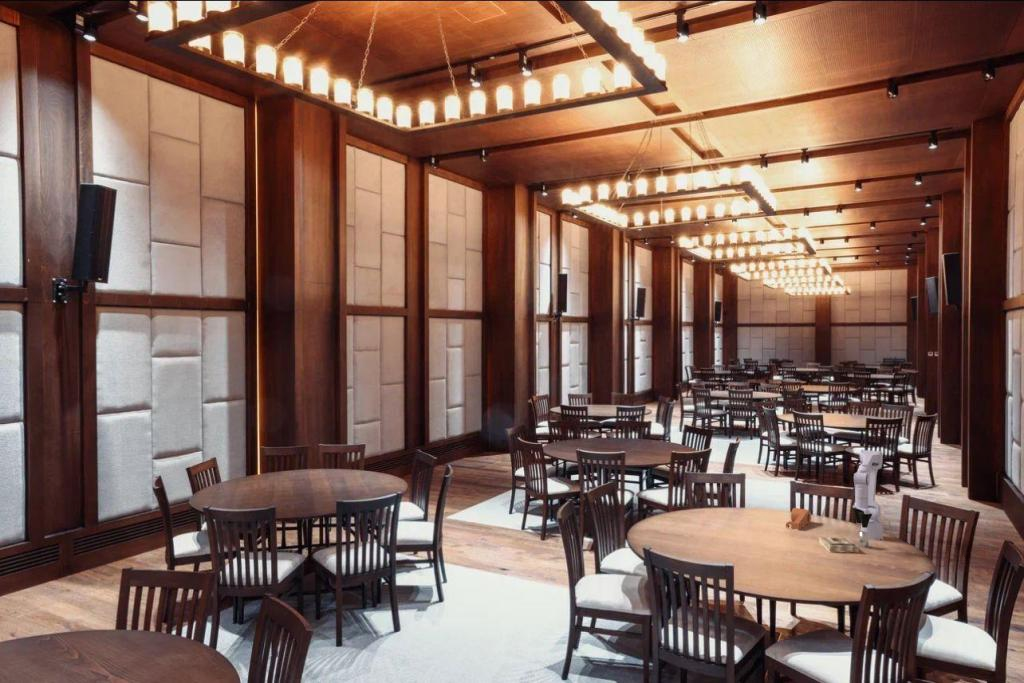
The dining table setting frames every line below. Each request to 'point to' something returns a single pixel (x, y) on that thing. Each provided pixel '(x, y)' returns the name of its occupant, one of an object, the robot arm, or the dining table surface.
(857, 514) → the robot arm
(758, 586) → the dining table surface
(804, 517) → the brown blocky piece
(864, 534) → the bushing
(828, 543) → the jig
